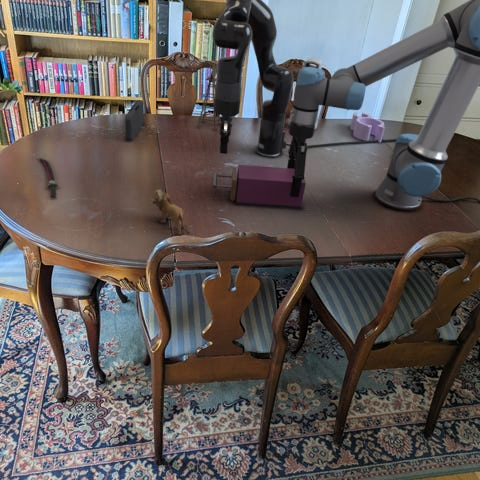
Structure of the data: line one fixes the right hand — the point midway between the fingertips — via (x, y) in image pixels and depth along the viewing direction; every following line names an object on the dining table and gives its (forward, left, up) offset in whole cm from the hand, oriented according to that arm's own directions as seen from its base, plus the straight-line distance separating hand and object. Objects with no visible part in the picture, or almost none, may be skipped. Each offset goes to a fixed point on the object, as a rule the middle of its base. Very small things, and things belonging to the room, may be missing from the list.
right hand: (291, 187), depth 151 cm
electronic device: (-23, -70, -5) cm, 74 cm away
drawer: (+13, -2, -4) cm, 13 cm away
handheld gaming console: (+52, -58, -5) cm, 78 cm away
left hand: (+23, -3, +10) cm, 25 cm away
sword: (+78, -14, -5) cm, 79 cm away
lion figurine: (+39, +16, -5) cm, 43 cm away
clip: (-52, -65, -5) cm, 83 cm away
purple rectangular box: (+7, -1, -5) cm, 9 cm away
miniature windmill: (+20, -69, -5) cm, 72 cm away
